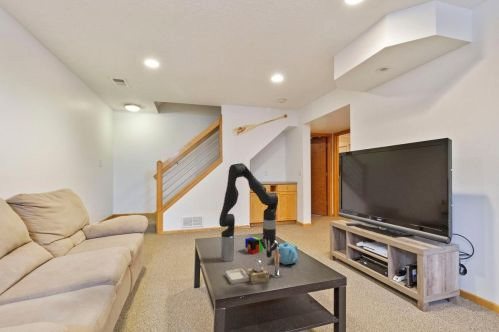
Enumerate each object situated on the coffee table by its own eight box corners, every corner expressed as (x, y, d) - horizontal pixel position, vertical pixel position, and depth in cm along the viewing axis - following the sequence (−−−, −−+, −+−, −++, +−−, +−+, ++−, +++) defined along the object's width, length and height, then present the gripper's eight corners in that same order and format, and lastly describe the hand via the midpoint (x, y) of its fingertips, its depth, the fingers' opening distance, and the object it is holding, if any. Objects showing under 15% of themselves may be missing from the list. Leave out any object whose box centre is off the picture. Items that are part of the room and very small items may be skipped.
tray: (225, 274, 143) (225, 271, 143) (242, 272, 147) (242, 268, 147) (231, 284, 131) (231, 280, 131) (249, 281, 135) (249, 276, 135)
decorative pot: (271, 263, 162) (271, 244, 162) (279, 256, 176) (279, 238, 176) (293, 268, 154) (293, 248, 154) (300, 260, 168) (300, 241, 168)
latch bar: (273, 264, 130) (273, 248, 130) (273, 255, 145) (273, 240, 146) (280, 265, 129) (280, 248, 129) (280, 255, 145) (280, 240, 145)
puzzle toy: (245, 251, 188) (245, 238, 188) (254, 248, 194) (254, 236, 194) (252, 254, 180) (252, 241, 180) (262, 251, 186) (262, 239, 186)
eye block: (247, 276, 141) (247, 268, 141) (261, 274, 144) (261, 266, 144) (253, 284, 131) (253, 275, 131) (269, 281, 135) (269, 272, 135)
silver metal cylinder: (253, 278, 139) (253, 259, 139) (259, 276, 141) (259, 258, 141) (255, 281, 135) (256, 262, 135) (262, 280, 137) (262, 261, 137)
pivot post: (270, 274, 144) (270, 256, 145) (278, 272, 147) (278, 255, 147) (274, 278, 139) (274, 259, 139) (283, 276, 141) (283, 258, 141)
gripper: (256, 226, 135) (256, 255, 135) (274, 230, 126) (274, 262, 126) (264, 224, 141) (264, 252, 140) (282, 228, 132) (282, 258, 131)
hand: (269, 257), depth 133 cm, fingers closed
